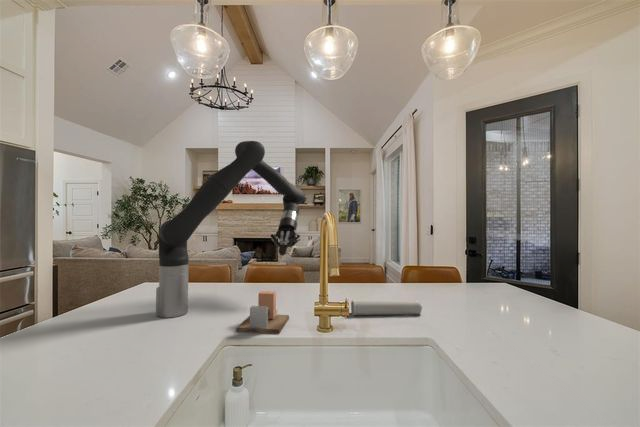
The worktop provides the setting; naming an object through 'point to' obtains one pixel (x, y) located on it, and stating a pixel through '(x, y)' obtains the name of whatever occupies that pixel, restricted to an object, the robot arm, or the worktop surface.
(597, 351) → the worktop surface
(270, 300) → the orange tall block
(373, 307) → the tube
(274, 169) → the robot arm
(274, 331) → the brown wooden board
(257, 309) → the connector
